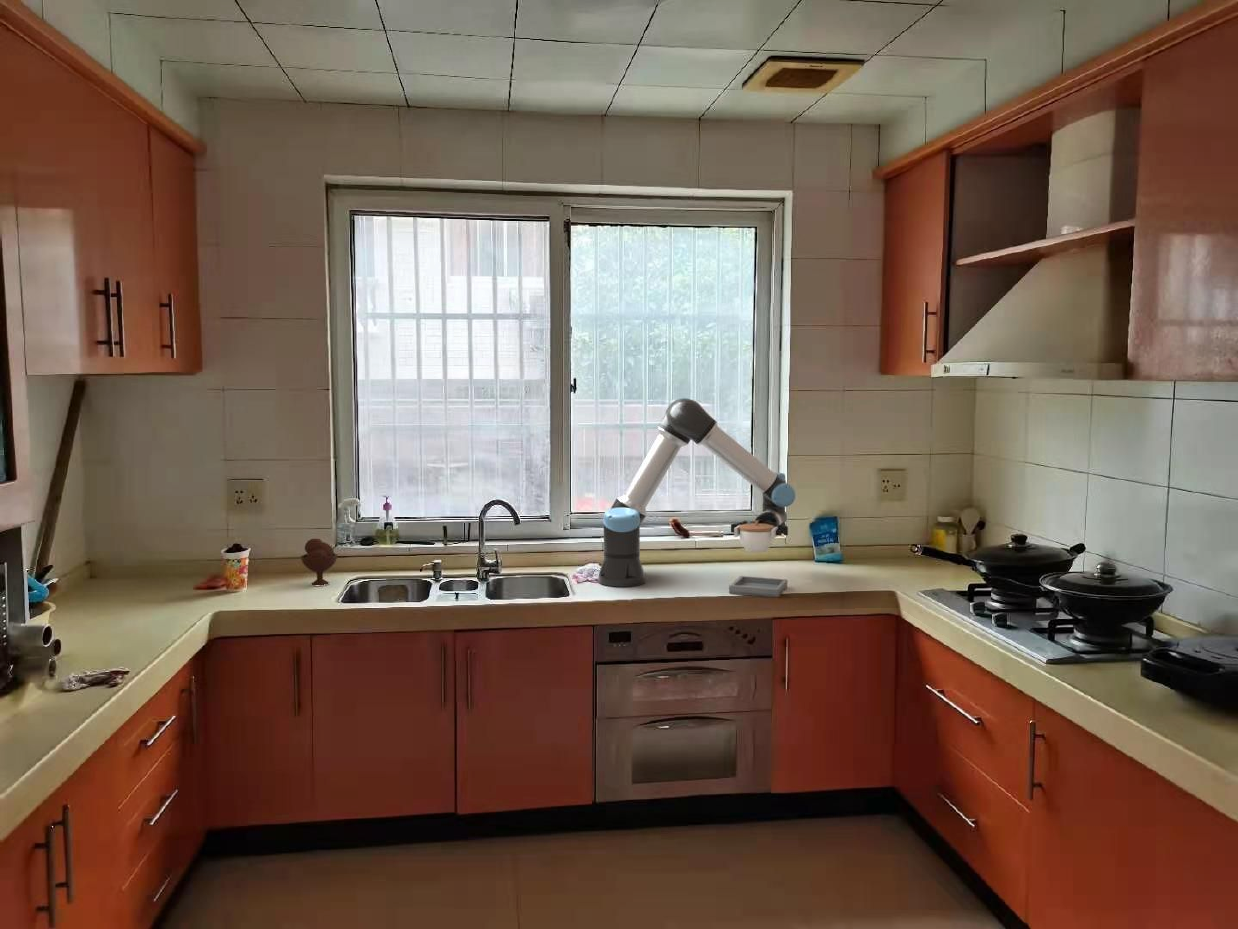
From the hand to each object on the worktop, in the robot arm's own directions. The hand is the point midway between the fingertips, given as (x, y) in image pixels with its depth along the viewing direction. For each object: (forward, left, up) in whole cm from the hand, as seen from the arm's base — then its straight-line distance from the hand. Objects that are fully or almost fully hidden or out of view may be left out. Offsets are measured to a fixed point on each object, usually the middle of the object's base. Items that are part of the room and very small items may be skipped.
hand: (753, 533), depth 272 cm
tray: (+1, +4, -18) cm, 19 cm away
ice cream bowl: (-132, -38, -19) cm, 139 cm away
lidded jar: (0, +4, -6) cm, 7 cm away
